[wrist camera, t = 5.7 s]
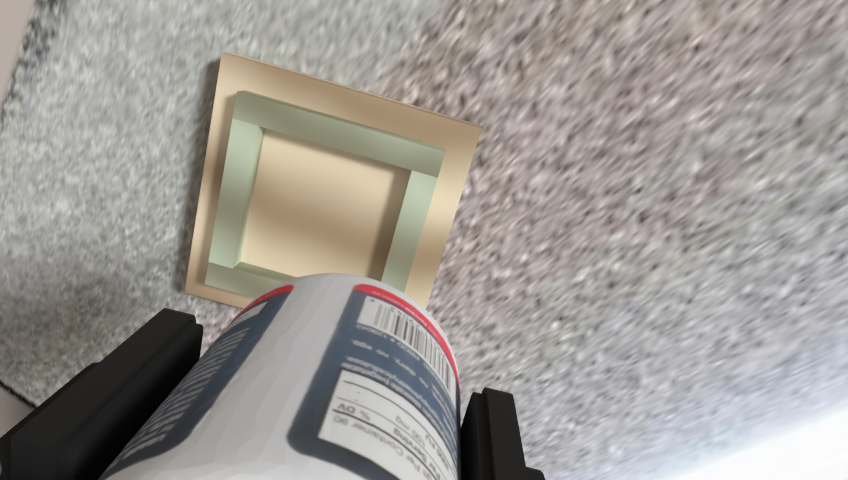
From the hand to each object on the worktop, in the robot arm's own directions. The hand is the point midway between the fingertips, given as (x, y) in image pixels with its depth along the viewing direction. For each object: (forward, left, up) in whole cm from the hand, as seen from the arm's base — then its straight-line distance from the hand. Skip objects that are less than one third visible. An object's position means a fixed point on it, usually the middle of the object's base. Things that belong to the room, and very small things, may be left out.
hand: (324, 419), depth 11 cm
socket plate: (+1, -3, -18) cm, 18 cm away
